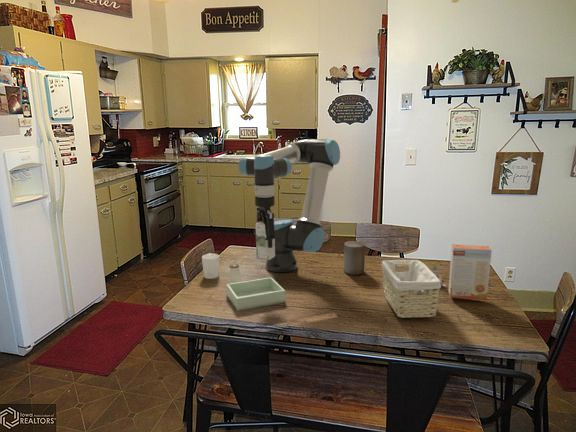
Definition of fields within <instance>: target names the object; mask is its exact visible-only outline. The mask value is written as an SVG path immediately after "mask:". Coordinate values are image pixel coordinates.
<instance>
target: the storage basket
mask: <svg viewBox="0 0 576 432" xmlns="http://www.w3.org/2000/svg"><path fill="white" fill-rule="evenodd" d="M396 267H399V268H400V267H401V268H404V267H408V271H407V270H406V271H396ZM381 270H382V288H383V295H384V296H385V299H386V300H387V303H388V304H389V306H390V307H391V308H392V309H393V311H394V313H395V314H396V316H397V317H398V318H400V319H401V318H431V317H436V315H437V312H438V311H437V310H438V309H437V308H438V302H439V297H440V296H439V295H440V290H441V288H442V285H441V284H440V280H439V279H438V278H437V276H436V275H435V274H434V273H433V270H431V269H430V268H429V267H428V266H427V265H426V264H425V263H424V262H422V261H420V260H419V259H392V260H390V259H389V260H382V261H381Z"/></svg>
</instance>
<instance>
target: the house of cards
mask: <svg viewBox="0 0 576 432" xmlns="http://www.w3.org/2000/svg"><path fill="white" fill-rule="evenodd" d="M432 272H433V273H434V274H435V275H436V276H437V278H438V279H439V280H440V284H441V287H447V285H446V284H443V281H442V279H441V278H442V276H441V274H439V273H438V267H437V265H434V266H433V267H432Z"/></svg>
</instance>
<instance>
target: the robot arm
mask: <svg viewBox="0 0 576 432" xmlns="http://www.w3.org/2000/svg"><path fill="white" fill-rule="evenodd" d="M340 159H341V150H340V145H339V144H338V142H337V141H336V140H335V139H328V138H326V139H324V138H321V139H319V138H315V139H314V138H306V139H300V140H297V141H294V142H292V143H287V144H286V145H285V146H284V147H282V148H279V149H275V150H272V151H267V152H266V153H262V154H260V155H259V154H258V155H255V156H250V157H249V156H247V157H246V156H244V157H241V158H240V159H239V161H238V165H237V166H238V171H239V173H240V174H241V175H243V176H254V187H253V191H254V195H255V197H254V205H255V207H256V223H257V222H259V221H263V223H264V225H265V232H266V238H265V240H266V256H270V255H273V239H275V257H273V258H272V259H270V260H266V262H265V268H266V269H267V271H270V272H274V273H288V272H293V271H295V270H296V269H297V268H298V262H297V259H296V257H295V256H296V255H295V253H294V251H295V250H296V251H301V252H306V253H316V252H318V251H319V249H321V247H322V246H323V243H324V240H325V231H324V229H323V228H322V224H321V222H320V219H321V213H322V209H323V205H324V203H323V202H324V198H325V195H326V189H327V183H328V178H329V173H330V172H331V171H333V169H334V166H337V165H338V164H339V162H340ZM296 163H297V164H298V163H299V164H300V163H301V164H302V163H304V164H308V167H309V168H310V173H309V177H308V183H307V186H306V191H305V196H304V202H303V207H302V210H301V211H302V212H301V215H300V216H301V217H299V218H298V219H297V220H296V224H294V221H293V219H280V220H275V214H274V212H272V210H271V207H274V206H275V179H279V178H284V177H287V176H288V175H290V174H291V173H292V170H293V165H292V164H296Z"/></svg>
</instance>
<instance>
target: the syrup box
mask: <svg viewBox="0 0 576 432" xmlns="http://www.w3.org/2000/svg"><path fill="white" fill-rule="evenodd" d="M265 238H266V232H265V225H264V223H263V221H259V222H257V221H256V223H255V245H256V249H255V250H256V259H259V260H266V261H267V260H270V259H272V258H273V257H275V239H273V255H270V256H266V240H265Z"/></svg>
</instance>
